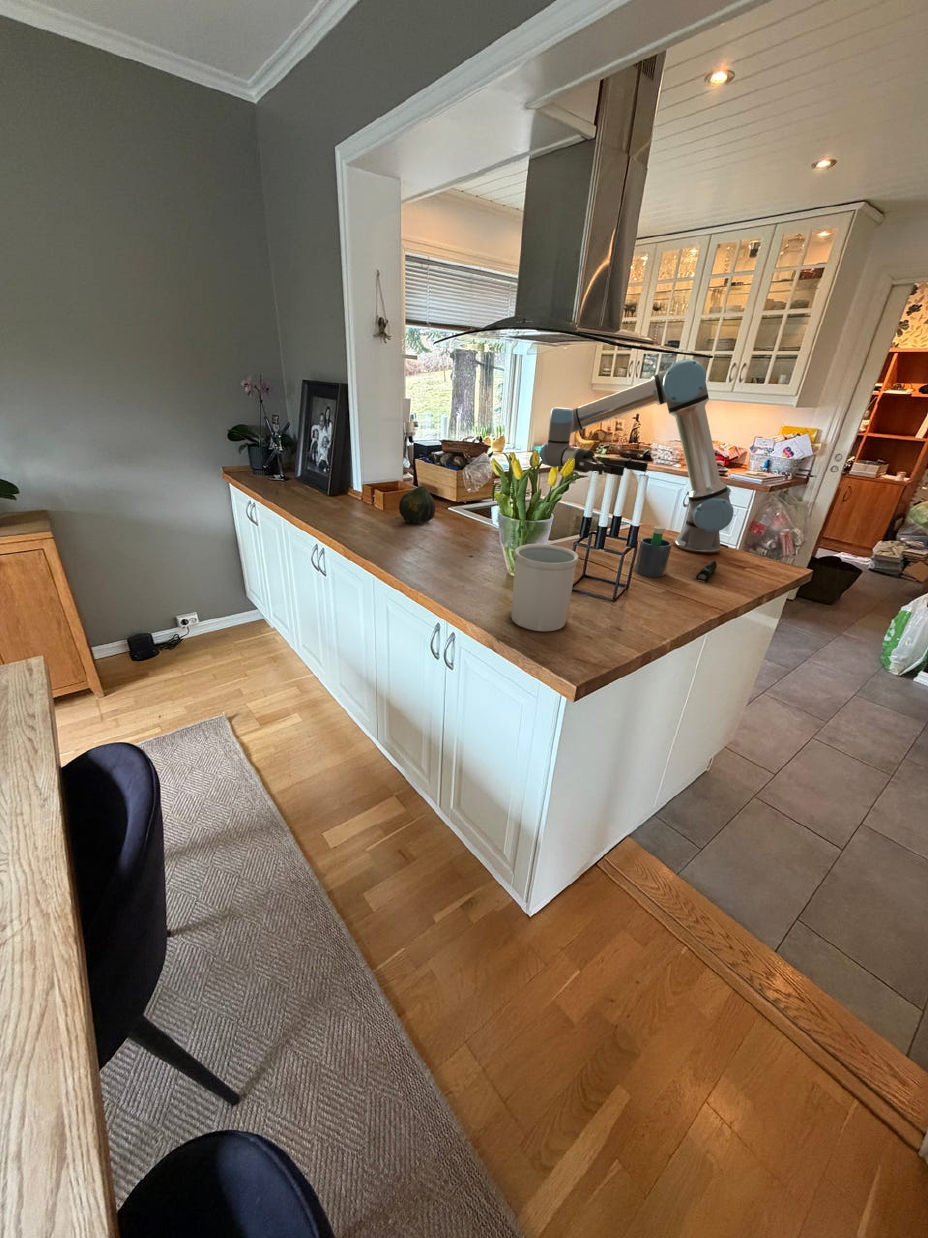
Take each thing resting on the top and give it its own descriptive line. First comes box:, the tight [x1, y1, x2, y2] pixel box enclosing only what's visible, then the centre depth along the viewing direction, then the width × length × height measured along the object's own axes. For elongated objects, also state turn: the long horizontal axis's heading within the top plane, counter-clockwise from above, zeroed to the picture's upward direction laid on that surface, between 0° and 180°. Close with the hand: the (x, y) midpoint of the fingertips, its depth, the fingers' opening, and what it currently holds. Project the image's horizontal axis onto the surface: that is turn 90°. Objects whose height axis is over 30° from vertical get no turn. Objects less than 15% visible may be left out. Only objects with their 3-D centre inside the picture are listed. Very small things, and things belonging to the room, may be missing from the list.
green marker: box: [651, 525, 665, 546], centre depth 152 cm, size 3×3×14 cm
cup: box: [634, 537, 672, 578], centre depth 153 cm, size 9×9×10 cm
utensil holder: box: [510, 543, 579, 632], centre depth 117 cm, size 15×15×18 cm
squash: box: [398, 485, 436, 524], centre depth 196 cm, size 14×15×15 cm
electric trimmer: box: [695, 560, 718, 583], centre depth 154 cm, size 4×16×3 cm, turn 143°
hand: (635, 469), depth 151 cm, fingers open, 13 cm apart
